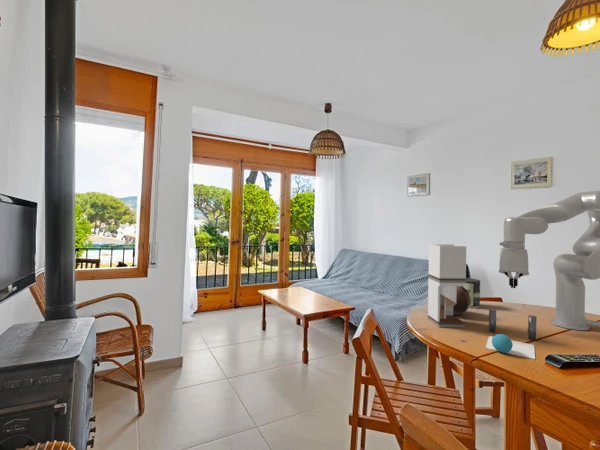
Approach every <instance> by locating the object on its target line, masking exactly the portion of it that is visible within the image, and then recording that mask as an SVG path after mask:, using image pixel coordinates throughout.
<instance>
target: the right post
mask: <svg viewBox="0 0 600 450" xmlns="http://www.w3.org/2000/svg"><path fill="white" fill-rule="evenodd" d="M527 318H528V321H527V323H528V325H527V326H528V327H527V339H528V340H530V341H537V322H538V321H537V320H538V319H537V316H535V315H533V314H531V315H530V314H528V316H527Z"/></svg>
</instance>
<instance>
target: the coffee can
mask: <svg viewBox="0 0 600 450" xmlns="http://www.w3.org/2000/svg"><path fill="white" fill-rule="evenodd" d="M462 287H464V288H465V289H466V290H467V291H468V293H469V295H470V298H471V304H470V307H469V308H468V309H479V308H481V280H480V279H477V278H471V277H470V278H468V277H466V286H462Z"/></svg>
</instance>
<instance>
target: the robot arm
mask: <svg viewBox="0 0 600 450" xmlns="http://www.w3.org/2000/svg"><path fill="white" fill-rule="evenodd" d="M586 212H587V215H588V219H589V226H588V228H587V230H585V231H584V233H583V234H582V235H581V236H580V237H579V238H578V239H577V240H576V241H575V243H573V246H572V252H573V253H563V254H562V253H561V254H559V255H557V256H556V257H555V258H554V260H553V262H552V263H553V265H552V266H553V270H554V275H555V317H554V318H551V319H550V323H551V324H553V325H554V326H557V327H561V328H563V329H568V330H574V331H590V326H593V327H600V321H595V320H592V319H587V317H586V316H585V312H586V311H585V310H586V309H585V307H586V285H585V282H584V280H583V279H586V280H591V281H592V280H593V281H594V280H599V279H600V190H591V191H582V192H577V193H575V194H573V195H570V196H569V197H566V198H564V199H562V200H559V201H558V202H557V201H556V202H555V203H552V204H549V205H546V206H543V207H540V208H537V209H534V210H531V211H528V212H526V213H525V212H524V213H522V214H521V215H519V216H517V217H506V218H505V217H504V220H503V241H502V242H499V246H502V247H503V248H500V253H499V263H498V264H499V265H498V266H499V270H498V273H499V274H503V275H505V276H506V277H507V278H508V286H510V288H511V289H516V287H518V282H519V279H520V278H522V277H523V276H529V275H530V273H529V252H528V249H525V247H526V241H525V240H526V235H541V234H543V233H546V232H547V230H548V229H549V224H556V223H563V222H566V221H568V220H570V219H572V218H573V219H574V218H575V217H577V216H579V215H582V214H583V213H586ZM512 273H515V275H514V277H513V275H512Z"/></svg>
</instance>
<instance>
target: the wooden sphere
mask: <svg viewBox="0 0 600 450" xmlns="http://www.w3.org/2000/svg"><path fill="white" fill-rule="evenodd" d="M456 287H457V295H456V305H453V316H454V315H456V316H457V315H462V314H464V313H465V312H467V310H469V309H470V308H469V307H470V304H471V298H470V295H469V293H468V291H467V290H466V289H465V288H464V287H462V286H456Z"/></svg>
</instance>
